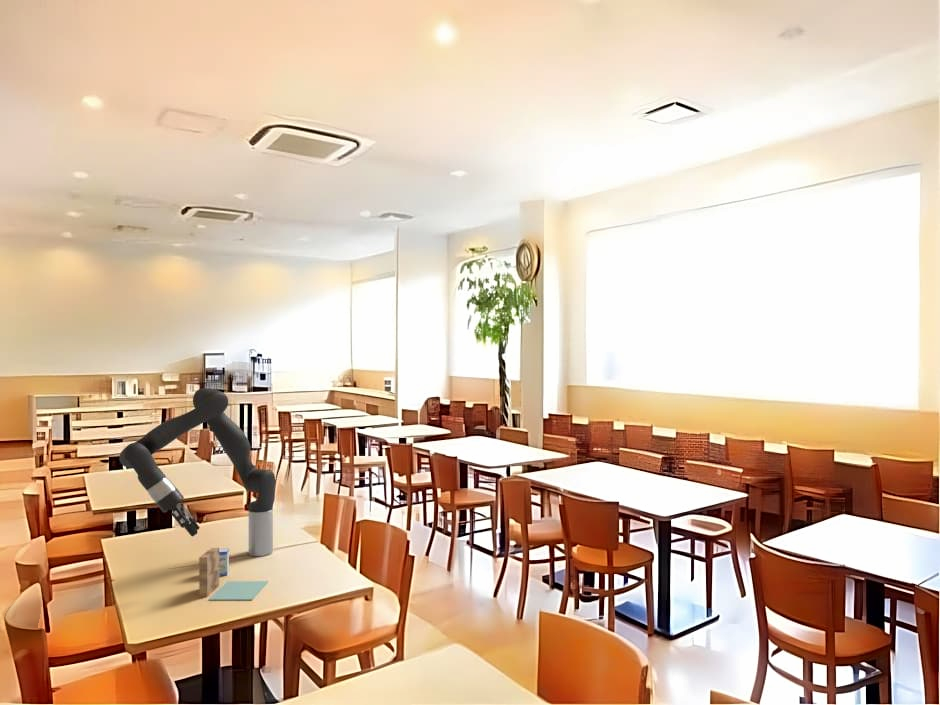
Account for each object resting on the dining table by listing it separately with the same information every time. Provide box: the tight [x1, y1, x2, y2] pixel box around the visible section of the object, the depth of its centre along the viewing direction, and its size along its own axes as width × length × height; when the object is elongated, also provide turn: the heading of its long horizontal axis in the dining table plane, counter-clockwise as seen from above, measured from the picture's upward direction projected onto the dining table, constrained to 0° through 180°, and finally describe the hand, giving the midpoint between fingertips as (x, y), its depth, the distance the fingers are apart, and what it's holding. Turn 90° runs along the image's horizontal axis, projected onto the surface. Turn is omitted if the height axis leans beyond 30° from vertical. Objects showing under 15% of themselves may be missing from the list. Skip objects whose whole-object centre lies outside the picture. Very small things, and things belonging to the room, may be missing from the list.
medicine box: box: [204, 548, 230, 577], centre depth 227 cm, size 8×4×9 cm, turn 105°
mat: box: [208, 580, 269, 602], centre depth 211 cm, size 16×14×1 cm
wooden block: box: [198, 547, 220, 598], centre depth 211 cm, size 10×3×13 cm, turn 0°
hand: (196, 532), depth 209 cm, fingers open, 8 cm apart
